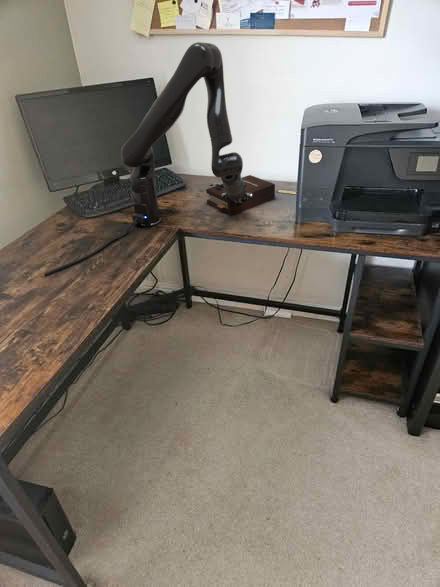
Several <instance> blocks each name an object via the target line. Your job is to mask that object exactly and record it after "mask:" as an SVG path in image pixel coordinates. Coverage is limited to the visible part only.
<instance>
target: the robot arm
mask: <svg viewBox="0 0 440 587" xmlns="http://www.w3.org/2000/svg"><path fill="white" fill-rule="evenodd" d="M223 62H224V61H223V54H222V52H221V50H220V48H219V47H218V46H217V45H216V44H214V43H210V42H201V41H198V42H197V41H196V42H194V43H192V44H190V45H189V47H188V48H187V49H186V50H185V52H184V54H183V56H182V58H181V60H180V61H179V62H178V65H177V67H176V69H175V70H174V73H173V74H172V76H171V77H170V79H169V81H168V82H167V83H166V85H165V87H163V89H162V91H161V92H160V94H159V95H158V96H157V98H156V99H155V101H154V102H153V103H152V105H151V107H150V108H149V110H148V112H147V113H146V114H145V116H144V117H143V119H142V121H141V123H140V124H139V126H138V127H137V129H136V130H135V132H133V134H132V135H131V136H130V137H129V138H128V140H126V142H125V143H123V145H122V147H121V149H120V157H121V160H122V162H123V164H124V165H125V166H127V167H129V168H132V171H131V173H130V175H129V181H130V186H131V192H132V197H133V201H134V202H133V210H134V213H133V214H131V219H132V222H130V224H129V225H128V226H127V227H126V230H125V231H124V232H123V233H122V234H120V235H117V236H115V237H113V238H111V239H109V240H108V241H106V242H105V243H104V244H102V245H101V246H100V247H98V248H97V249H95V250H93V251H92V252H90V253H88V254H86V255H83V256H82V257H80V258H78V259H75V260H73V261H71V262H68V263H66V264H63V265H60V266H58V267H56V268H54V269H51V270H49V271H46V272H43V273H44V274H43V275H44V276H45V277H46V276H49V275H51V274H53V273H56V272H58V271H60V270H62V269H65V268H67V267H70V266H73V265H75V264H78V263H79V262H82V261H84V260H86V259H88V258H90V257H92V256H93V255H96V254H97V253H98V252H99V251H102V250H104V248H106V247H107V246H108V245H109V244H111V243H113V242H114V241H117V240H119V239H121V238H123V237H124V236H126V235H127V234H128V233H129V231H130V229H131V228H132V226H134V224H135V223H136V225H137V226H140V227H146V228H151V227H153V226H156V225H158V224H160V223H161V222H162V221H161V219H162V218H161V215H160V214H161V213H160V206H159V201H158V195H157V194H158V193H157V188H156V181H155V173H156V167H155V158H154V157H155V156H154V150H153V147H152V146H153V145H154V144H155V143H156V142H157V141H159V140H160V139H161V138H162V137H164V135H166V133H167V132H169V130H171V128H173V126H174V125H175V124H176V122H177V121H178V120H179V119H180V117H181V115H182V114H183V112H184V110H185V107H186V106H185V105H186V101H187V98H188V95H189V93H190V91H192V89H193V88H194V86H195V85H196V84H198V82H199V81H200V80H201V79H203V80H204V83H205V87H206V91H207V108H206V126H207V130H208V134H209V138H210V143H211V168H210V169H211V172H212V174H213V176H214V177H216V178H218V179H219V178H220V180H221V183H222V184H223V187H224V189H225V192H222V199H225V200H227V201H229V202H235V203H236V205H238V206H242V205H243V202H244V203H246V202H247V201H249V200H251V199H252V197H253V192H250V193H247V191H246V190H245V186H244V183H243V179H242V172H243V166H244V162H243V158H242V155H241V154H240V153H238V152H235V151H232V152H229V153H224V154H221V155H220V153H221V151H222V149H224V148H225V147H227V146H230V145H231V144H232V142H233V136H232V131H231V130H232V129H231V125H230V120H229V116H228V109H227V101H226V90H225V78H224V76H225V75H224V63H223Z"/></svg>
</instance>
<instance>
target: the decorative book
mask: <svg viewBox="0 0 440 587" xmlns="http://www.w3.org/2000/svg"><path fill="white" fill-rule="evenodd" d="M241 177H242V176H241ZM242 179H243V183H244V186H245V190H246V191H247V193H250V192H253V197H252V199H251V200H249V201H247V202H246V203H244V202H243V205H242V206H238V205H236V203H235V202H229V201H227V200H225V199H222V192H225V189H224V187H223V183H221V184H218V183H216V184H212V183H211V184H209V185H208V186H209V188H205V193H206V194H207V198H208V199H207V200H206V204H207V205H209V206H210V207H212V208H215V209H217V210H219V211H220V212H222V213H224V214H227V215H229V216H233V215H235V214H238V213H241V212H243V211H246V210H249V209H251V208H254V207H257V206H259V205H262V204H265V203H267V202H270V201H272V200H275V198H276V184H275V183H273V182H271V181H267V180H265V179H262V178H260V177H256V176H254V175H251V174H249V175H245V176H243V177H242Z"/></svg>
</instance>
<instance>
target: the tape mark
mask: <svg viewBox="0 0 440 587" xmlns="http://www.w3.org/2000/svg"><path fill="white" fill-rule="evenodd" d="M296 192H297V191H293V190H283V189H279V190H277V193H280V194H290V195H297V194H296Z"/></svg>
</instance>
